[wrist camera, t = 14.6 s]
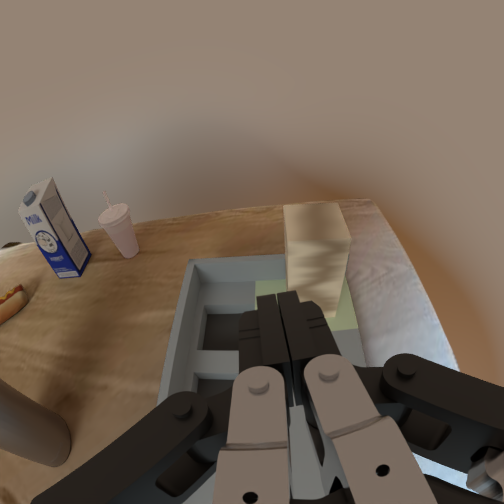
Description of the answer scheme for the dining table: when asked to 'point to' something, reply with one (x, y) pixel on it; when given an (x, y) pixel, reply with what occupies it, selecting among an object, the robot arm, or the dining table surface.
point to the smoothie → (119, 228)
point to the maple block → (316, 253)
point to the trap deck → (227, 346)
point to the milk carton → (54, 229)
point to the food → (12, 302)
